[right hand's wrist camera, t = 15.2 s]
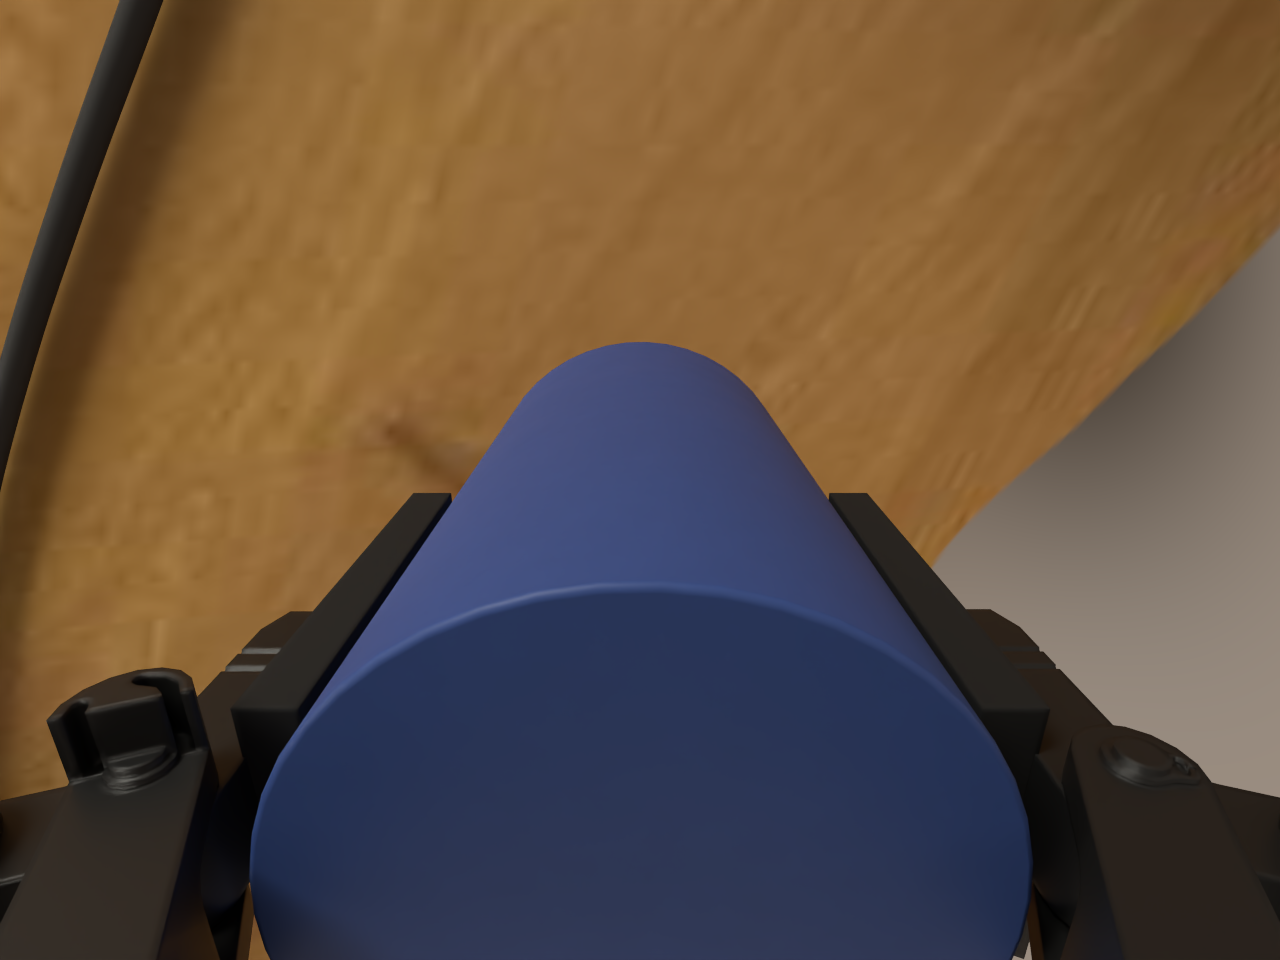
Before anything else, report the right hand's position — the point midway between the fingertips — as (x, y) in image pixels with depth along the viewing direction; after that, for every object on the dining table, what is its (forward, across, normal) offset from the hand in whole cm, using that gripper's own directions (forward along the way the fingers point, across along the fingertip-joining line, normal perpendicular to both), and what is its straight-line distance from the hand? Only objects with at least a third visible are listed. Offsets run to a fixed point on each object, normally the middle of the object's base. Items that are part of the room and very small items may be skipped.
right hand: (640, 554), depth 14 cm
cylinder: (+4, 0, 0) cm, 4 cm away
